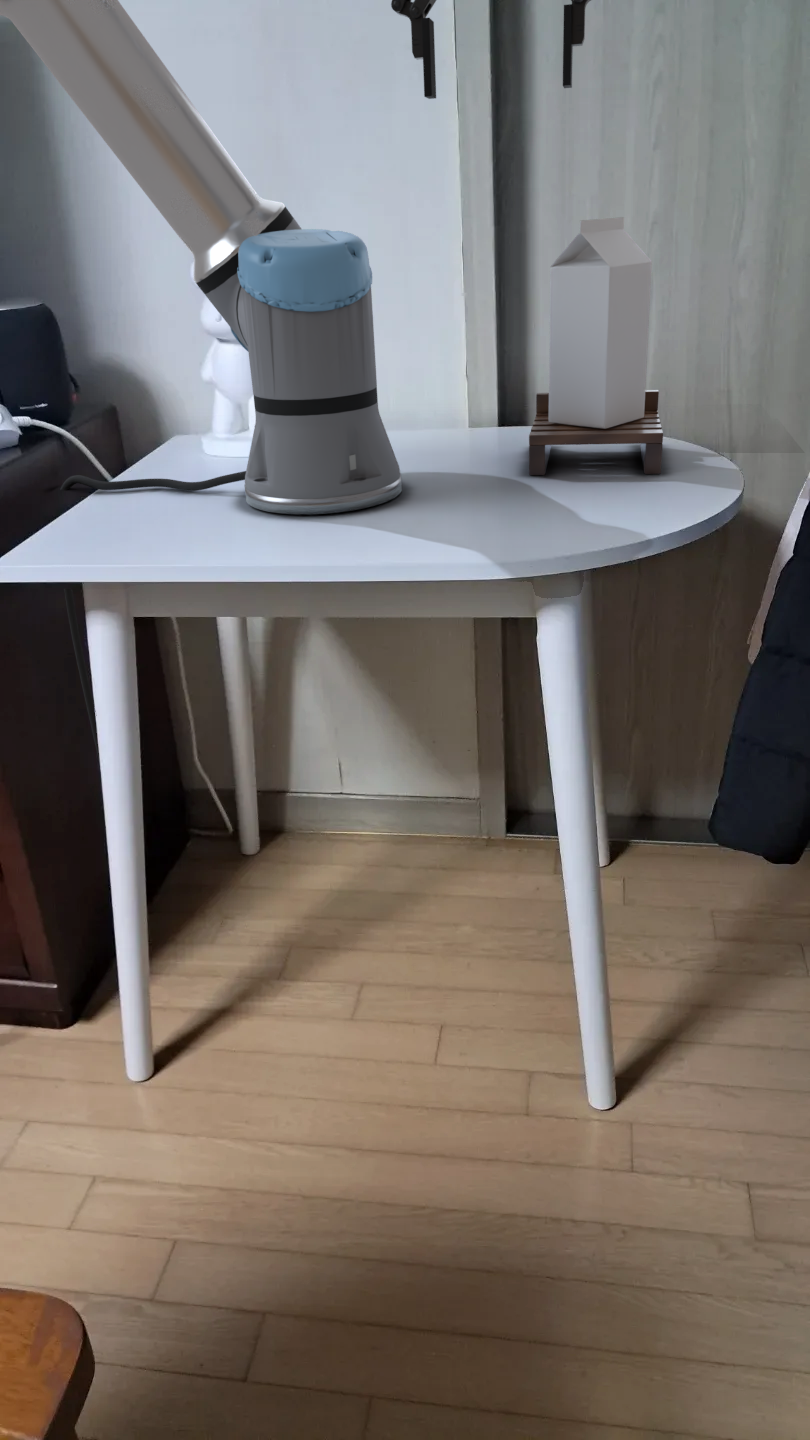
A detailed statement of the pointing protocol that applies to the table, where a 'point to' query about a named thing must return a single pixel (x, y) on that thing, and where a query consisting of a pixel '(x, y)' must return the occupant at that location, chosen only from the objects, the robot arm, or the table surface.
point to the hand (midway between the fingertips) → (497, 92)
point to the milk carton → (599, 327)
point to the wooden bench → (597, 435)
